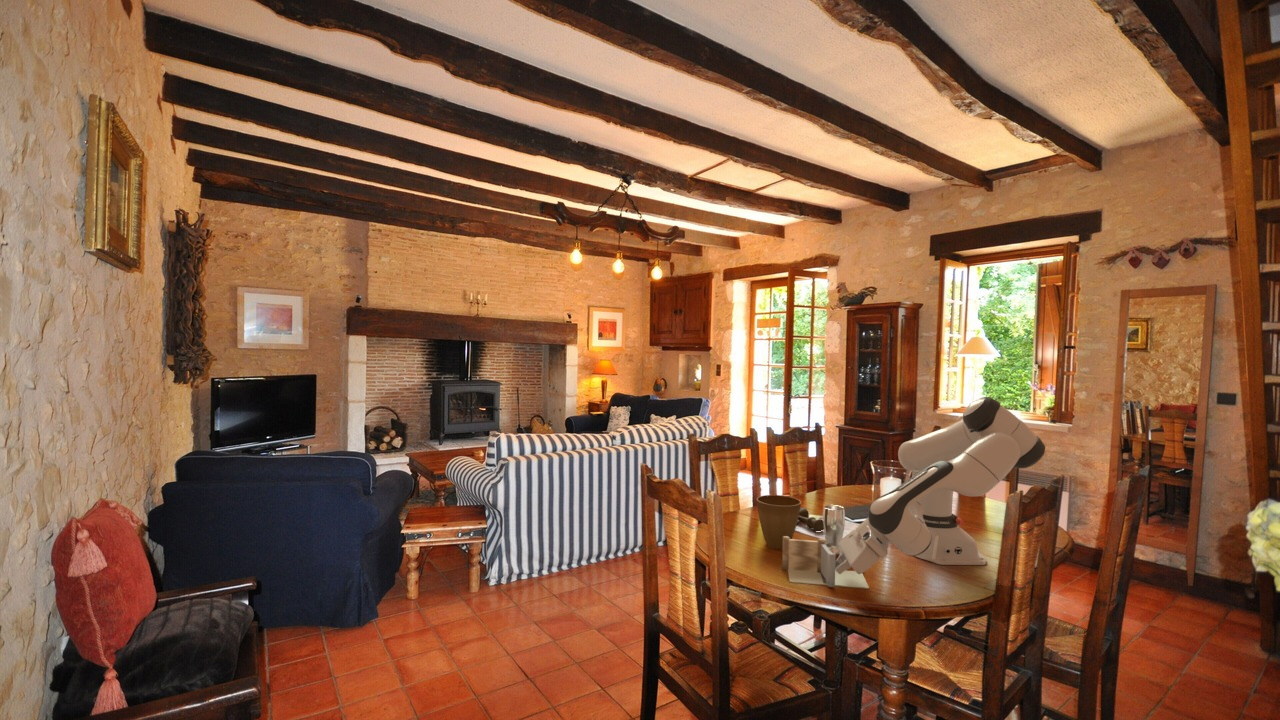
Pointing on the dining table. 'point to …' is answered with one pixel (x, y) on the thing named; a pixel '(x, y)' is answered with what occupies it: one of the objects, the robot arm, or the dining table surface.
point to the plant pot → (778, 518)
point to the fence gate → (828, 565)
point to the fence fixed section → (802, 554)
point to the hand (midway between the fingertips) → (835, 569)
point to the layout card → (817, 578)
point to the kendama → (810, 520)
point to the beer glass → (833, 527)
